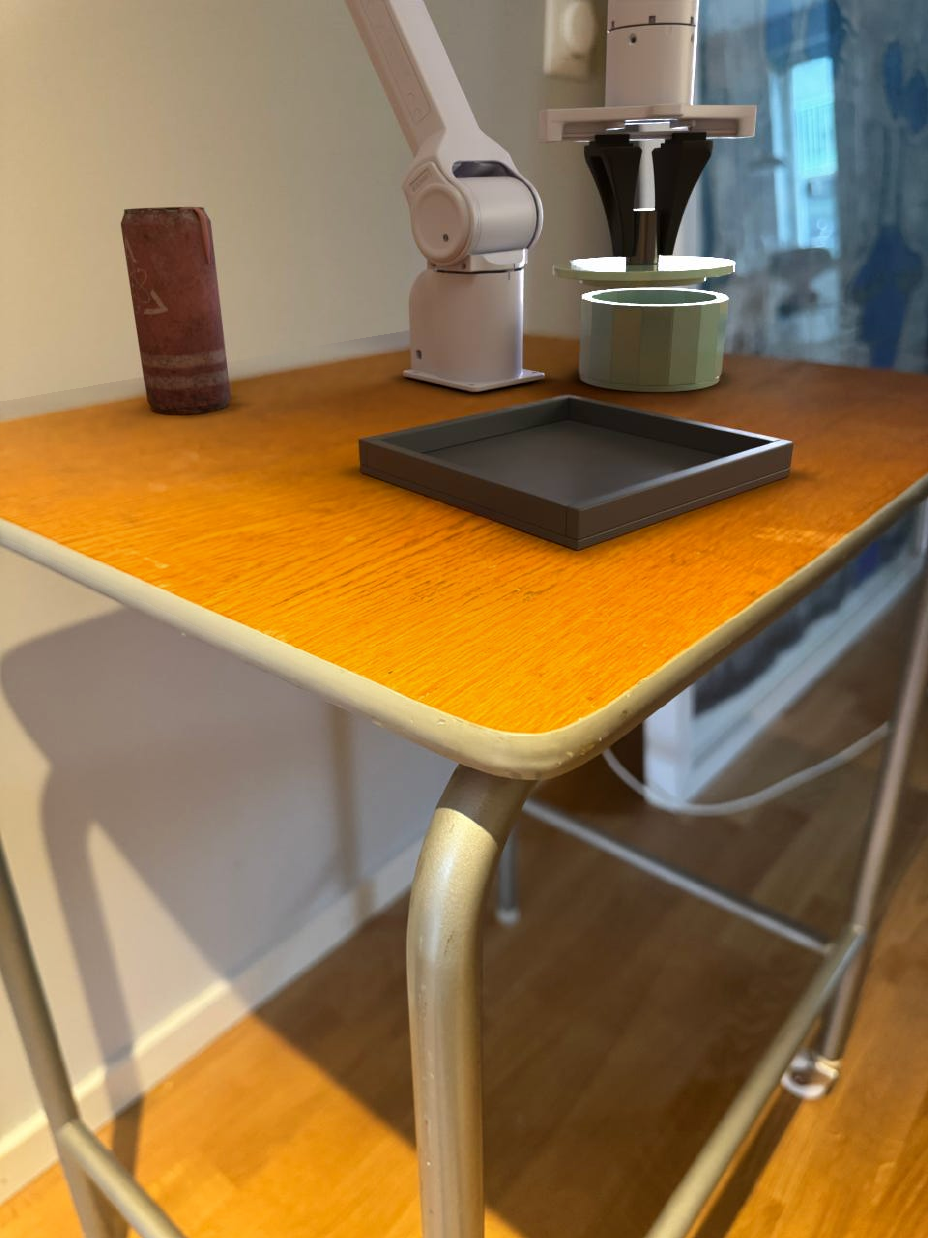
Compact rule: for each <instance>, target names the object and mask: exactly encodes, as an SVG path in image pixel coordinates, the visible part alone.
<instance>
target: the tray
mask: <svg viewBox="0 0 928 1238" xmlns="http://www.w3.org/2000/svg"><path fill="white" fill-rule="evenodd" d="M357 443H358V455H359V457H358V458H359V459H358V460H359V472H360V473H361V474H365V475H367V476H370V477H373V478H376V479H379V480H381V481H384V482H387V483H389V484H392V485H395V486H398V487H401V488H404V489H406V490H409V491H412V492H415V493H417V494H420V495H423V496H426V497H428V498H431V499H434V500H437V501H439V502H443V503H445V504H448V505H451V506H454V507H456V508H460V510H461V509H462V510H464V511H468V512H470V513H473V514H476V515H478V516H481V517H484V518H485V519H490V520H492V521H495V522H497V523H500V524H503V525H506V526H508V527H511V528H515V529H517V530H520V531H522V532H525V533H528V534H531V535H533V536H537V537H539V538H542V539H545V540H547V541H551V542H553V543H556V544H559V545H562V546H564V547H567V548H569V549H573V550H575V551H579V550H582V549H585V548H588V547H591V546H593V545H596V544H599V543H603V542H605V541H608V540H611V539H614V538H616V537H620V536H623V535H625V534H628V533H631V532H633V531H637V530H639V529H643V528H645V527H648V526H650V525H653V524H656V523H659V522H663V521H664V520H668V519H670V518H673V517H676V516H679V515H683V514H684V513H688V512H690V511H693V510H697V509H699V508H703V507H704V506H708V505H710V504H714V503H717V502H719V501H722V500H724V499H725V500H726V499H728V498H730V497H733V496H736V495H739V494H742V493H744V492H748V491H751V490H753V489H755V488H758V487H761V486H764V485H768V484H770V483H773V482H776V481H778V480H781V479H784V478H787V477H789V476H790V475H791V466H792V459H793V451H794V441H790V440H786V439H782V438H778V437H774V436H768V435H763V434H759V433H755V432H750V431H746V430H739V429H735V428H731V427H725V426H721V425H716V424H712V423H708V422H702V421H698V420H693V419H687V418H684V417H678V416H674V415H669V414H664V413H659V412H655V411H649V410H646V409H640V408H636V407H631V406H627V405H622V404H617V403H612V402H607V401H604V400H603V401H602V400H598V399H593V398H589V397H584V396H579V395H574V394H571V393H567V394H563V395H562V394H561V395H558V396H554V397H549V398H544V399H539V400H535V401H530V402H526V403H525V402H524V403H520V404H516V405H511V406H507V407H502V408H497V409H493V410H488V411H484V412H478V413H474V414H470V415H465V416H459V417H455V418H451V419H446V420H441V421H437V422H436V421H435V422H431V423H427V424H423V425H418V426H414V427H409V428H404V429H400V430H395V431H390V432H386V433H379V434H375V435H371V436H367V437H362V438H358V442H357Z"/></svg>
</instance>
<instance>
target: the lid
mask: <svg viewBox="0 0 928 1238" xmlns="http://www.w3.org/2000/svg"><path fill="white" fill-rule="evenodd" d="M661 228H662V209H655V208H637V209H636V208H634V243H633V251H632V257H625V258H621V257H616V256H615V257H598V258H587V259H585V258H584V259H575V260H567V261H562V262H557V263H555V264H553V265H552V275H553V276H554V277H556V278H561V279H568V280H577V281H578V282H579V284H580V285H584V286H589V287H597V288H612V289H632V288H674V287H685V286H694V285H698V284H702V283H704V282H706V280H707V279H709V278H710V279H711V278H716V277H717V278H718V277H722V276H727V275H731V274H734V272H735V267H736V262H735V261H733V260H730V259H725V258H717V257H716V258H715V257H703V256H701V257H700V256H661V255H660V249H661Z"/></svg>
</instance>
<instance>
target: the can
mask: <svg viewBox="0 0 928 1238" xmlns="http://www.w3.org/2000/svg"><path fill="white" fill-rule="evenodd" d="M120 228H121V229H120V230H121V235H122V242H123V249H124V255H125V262H126V269H127V275H128V282H129V288H130V295H131V302H132V309H133V315H134V321H135V329H136V335H137V343H138V348H139V354H140V355H139V356H140V361H141V368H142V374H143V375H142V377H143V381H144V388H145V389H144V390H145V395H146V401H147V403H148V404H149V406H150V407H151V409H153V411H154V412H156V413H159V414H164V415H181V416H183V415H197V414H204V413H211V412H215V411H218V410H221V409H224V408H226V407H227V405H228V403H229V401H230V399H231V396H232V394H231V385H230V377H229V368H228V359H227V351H226V343H225V335H224V325H223V317H222V307H221V298H220V290H219V281H218V273H217V265H216V264H217V263H216V255H215V247H214V238H213V237H214V236H213V229H212V221H211V219H210V217H209V215H208V214H207V212H206V211H205V207H203V206H166V207H165V206H164V207H163V206H162V207H139V208H137V207H136V208H125V209H123V214H122V218H121V221H120Z"/></svg>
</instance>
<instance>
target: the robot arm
mask: <svg viewBox="0 0 928 1238" xmlns="http://www.w3.org/2000/svg"><path fill="white" fill-rule="evenodd" d="M344 3H345V5H346V7H347V9H348V12H349V14H350V16H351V18H352V21H353V23H354V25H355V27H356V31H357V32H358V35H359V36H360V39H361V41H362V44H363V46H364V48H365V51H366V52H367V55H368V56H369V59H370V61H371V64H372V67H373V68H374V70H375V72H376V75H377V77H378V79H379V82H380V84H381V87H382V88H383V90H384V93H385V95H386V98H387V100H388V102H389V104H390V106H391V107H390V108H391V109H392V111H393V114H394V115H395V118H396V121H397V123H398V124H399V127H400V129H401V132H402V133H403V136H404V138H405V141H406V142H407V145H408V148H409V149H410V152H411V154H412V156H413V161H412V162H411V164H410V166H409V168H408V170H407V172H406V174H405V176H404V179H403V180H402V183H401V189H402V192H403V194H404V197H405V199H406V201H407V205H408V209H409V214H410V215H409V216H410V227H411V234H412V237H413V240H414V242H415V245H416V247H417V249H418V250H419V253H420V254H421V255H422V256H423V258H425V259H426V267H427V268H425V269H424V270H422V271H421V272H420V273H419V274H418V275H417V276H416V278H415V279H414V282H413V283H412V286H411V288H410V292H409V295H408V319H409V320H408V324H409V349H410V350H409V351H410V352H409V353H410V369H405V370H403V371H402V374H403V377H405V378H410V379H414V380H418V381H423V382H427V383H432V384H437V385H441V386H445V387H449V388H454V389H458V390H460V391H461V390H462V391H465V392H471V393H479V392H484V391H489V390H494V389H499V388H505V387H509V386H515V385H520V384H524V383H525V384H526V383H529V382H530V383H531V382H536V381H540V380H544V379H545V377H546V376H545V373H544V372H540V371H536V370H531V369H530V370H529V369H525V368H523V345H524V343H523V335H524V334H523V331H524V329H523V328H524V324H523V323H524V268H523V267H524V266H526V265H528V256H529V255H528V254H529V253H528V252H529V251H531V250H532V249H533V248H534V246H535V245H536V243H537V242H538V241H539V238H540V236H541V233H542V229H543V225H544V224H543V222H544V209H543V204H542V199H541V197H540V194H539V192H538V191H537V189H536V187H535V186H534V185H533V184H532V182H531V181H529V179H527V178H526V177H524V176H523V175H522V174H521V172H519V170H518V169H517V167H516V165H515V164H514V161H513V159H512V157H511V154H510V152H508V151H507V150H505V148H503V147H502V146H501V145H500V144H499V143H497V142H496V141H495V140H494V139H492V138H491V137H489V136H488V135H487V134H486V133H485V132H484V131H482V130H481V129H480V127H479V124H478V123H477V120H476V118H475V116H474V113H473V111H472V109H471V106H470V104H469V102H468V99H467V98H466V95H465V93H464V90H463V88H462V85H461V84H460V82H459V79H458V77H457V74H456V72H455V70H454V67H453V65H452V63H451V60H450V59H449V56H448V54H447V52H446V49H445V47H444V45H443V43H442V40H441V38H440V36H439V34H438V33H439V32H438V31H437V29H436V26H435V24H434V22H433V19H432V18H431V15H430V13H429V11H428V8H427V6H426V4H425V1H424V0H344ZM699 7H700V0H607V26H606V27H607V28H606V29H607V30H606V32H607V33H606V58H605V59H606V61H605V97H604V98H605V99H604V101H605V102H604V106H603V107H602V106H600V107H579V108H547V109H543V110H540V111H538V143H539V144H556V143H577V142H578V143H580V142H583V143H584V142H588V144H585V145H583V156H584V157H583V158H584V161H585V164H586V165H587V167H588V170H589V172H590V174H591V176H592V178H593V181H594V183H595V186H596V189H597V191H598V194H599V197H600V200H601V204H602V206H603V210H604V214H605V217H606V221H607V226H608V232H609V237H610V242H611V250H612V257H615V258H616V257H621V258H625V257H632V251H633V243H634V209H635V201H636V193H637V192H636V190H637V184H638V175H639V169H640V165H641V159H642V153H643V149H642V148H641V147H640V146H639V145H638V146H637V145H636V146H635V145H634V142H630V141H654V140H655V141H657V140H658V141H659V140H662V141H663V140H664V142H661V143H660V147H654V148H653V149H652V150H651V160H652V169H653V185H654V187H653V188H654V209H662V228H661V249H660V256H662V257H668V256H674V250H675V245H676V242H677V238H678V234H679V231H680V228H681V223H682V220H683V217H684V214H685V212H686V208H687V206H688V204H689V200H690V198H691V196H692V194H693V191H694V189H695V187H696V185H697V183H698V181H699V179H700V177H701V176H702V173H703V172H704V169H705V168H706V166H707V164H708V162H709V161H710V159H711V158H712V155H713V150H714V139H745V138H754V137H755V133H756V132H755V129H756V119H757V109H758V108H757V107H758V105H756V104H738V105H737V104H694V88H695V72H696V55H697V39H698V23H699V21H698V20H699ZM649 124H651V125H652V124H668V126H669V129H675V130H657V131H656V130H655V131H654V130H653V131H615V130H623V129H626V125H649ZM676 129H687V130H676ZM607 131H611V132H607ZM612 131H613V132H612ZM614 131H615V132H614Z"/></svg>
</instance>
